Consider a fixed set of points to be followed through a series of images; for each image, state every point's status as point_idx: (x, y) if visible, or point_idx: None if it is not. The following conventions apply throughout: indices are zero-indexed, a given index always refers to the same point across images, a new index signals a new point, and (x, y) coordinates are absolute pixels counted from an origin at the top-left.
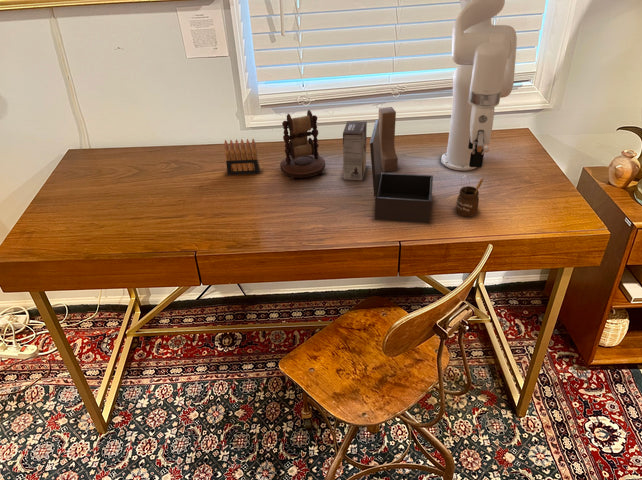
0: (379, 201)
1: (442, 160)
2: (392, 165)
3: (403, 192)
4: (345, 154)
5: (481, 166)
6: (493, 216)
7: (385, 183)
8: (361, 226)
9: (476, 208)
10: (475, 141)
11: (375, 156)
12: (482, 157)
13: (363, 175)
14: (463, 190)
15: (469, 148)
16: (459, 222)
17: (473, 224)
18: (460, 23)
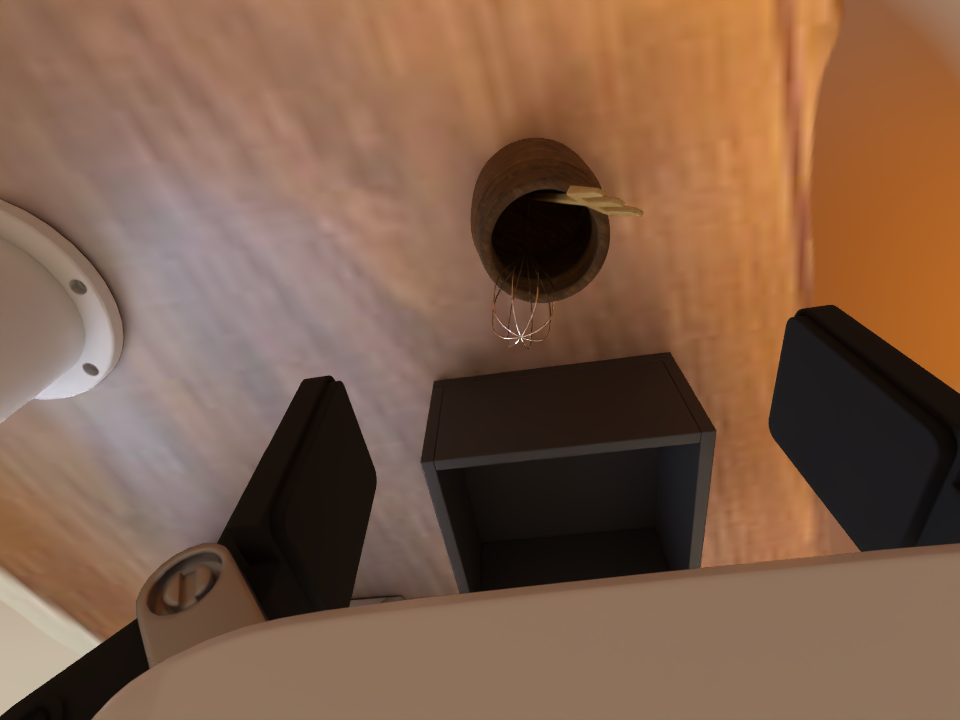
0: None
1: (85, 390)
2: None
3: (466, 487)
4: None
5: (833, 309)
6: (548, 14)
7: (478, 572)
8: (709, 547)
9: (565, 148)
10: (334, 512)
11: None
12: (944, 398)
13: (374, 601)
14: (506, 276)
15: (375, 477)
16: (646, 218)
17: (658, 138)
18: None
